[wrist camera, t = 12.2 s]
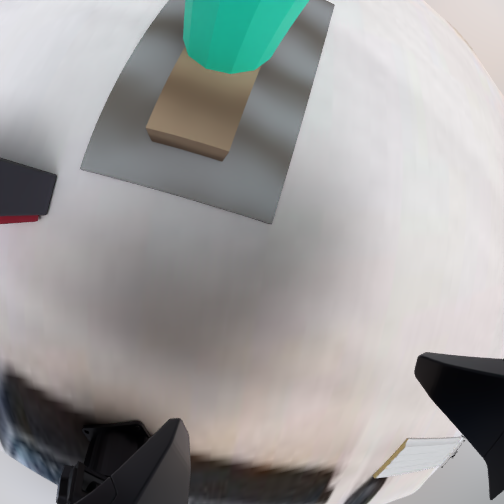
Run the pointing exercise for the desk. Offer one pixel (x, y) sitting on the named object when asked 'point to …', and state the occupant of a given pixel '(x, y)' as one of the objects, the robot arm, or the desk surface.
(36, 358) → the desk surface
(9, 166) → the upright charcoal slab
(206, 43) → the candle
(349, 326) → the desk surface
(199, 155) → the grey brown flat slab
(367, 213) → the desk surface
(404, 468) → the baseboard
